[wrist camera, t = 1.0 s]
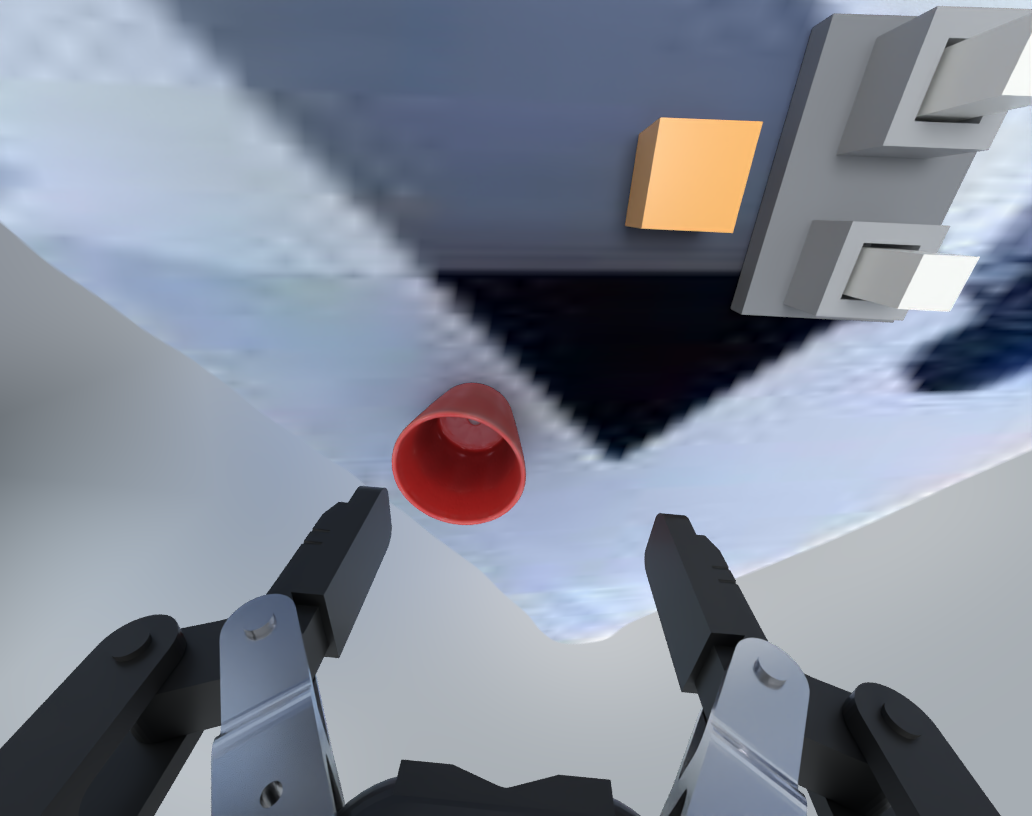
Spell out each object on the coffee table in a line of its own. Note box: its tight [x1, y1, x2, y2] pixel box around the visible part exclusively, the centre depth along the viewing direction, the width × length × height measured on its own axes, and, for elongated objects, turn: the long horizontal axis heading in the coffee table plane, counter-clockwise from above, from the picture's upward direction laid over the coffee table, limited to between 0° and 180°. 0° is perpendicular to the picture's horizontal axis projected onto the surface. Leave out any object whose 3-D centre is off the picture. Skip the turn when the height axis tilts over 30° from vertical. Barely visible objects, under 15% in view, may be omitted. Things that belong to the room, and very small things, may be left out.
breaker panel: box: [731, 6, 1032, 323], centre depth 26 cm, size 18×12×6 cm, turn 178°
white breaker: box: [915, 13, 1032, 122], centre depth 20 cm, size 3×3×6 cm
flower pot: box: [392, 383, 526, 525], centre depth 35 cm, size 11×11×10 cm
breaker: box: [843, 247, 980, 312], centre depth 24 cm, size 3×3×6 cm
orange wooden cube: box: [625, 118, 763, 233], centre depth 27 cm, size 6×6×6 cm
